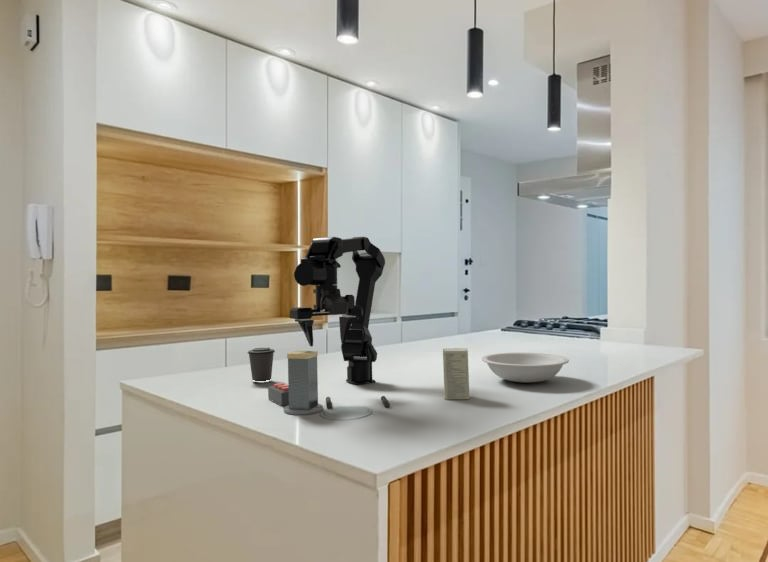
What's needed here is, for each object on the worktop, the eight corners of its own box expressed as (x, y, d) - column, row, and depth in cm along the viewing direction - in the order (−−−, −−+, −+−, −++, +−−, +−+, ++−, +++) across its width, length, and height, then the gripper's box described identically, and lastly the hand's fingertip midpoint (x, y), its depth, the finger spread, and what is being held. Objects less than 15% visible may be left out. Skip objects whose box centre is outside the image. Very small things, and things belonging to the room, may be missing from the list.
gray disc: (312, 403, 127) (312, 400, 127) (329, 410, 119) (329, 408, 119) (277, 408, 122) (277, 406, 122) (292, 417, 115) (292, 414, 115)
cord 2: (380, 400, 128) (380, 396, 128) (385, 400, 128) (385, 395, 128) (384, 407, 121) (384, 402, 121) (389, 407, 122) (389, 402, 122)
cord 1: (325, 401, 129) (325, 396, 129) (330, 401, 129) (330, 396, 129) (326, 408, 122) (326, 403, 122) (331, 408, 122) (331, 403, 122)
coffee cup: (281, 380, 157) (280, 347, 157) (261, 385, 150) (261, 350, 150) (262, 378, 161) (261, 345, 161) (241, 382, 154) (241, 349, 154)
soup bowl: (465, 379, 154) (464, 357, 154) (525, 371, 166) (524, 350, 166) (524, 394, 133) (523, 368, 133) (587, 383, 145) (587, 359, 145)
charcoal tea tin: (298, 404, 124) (297, 350, 124) (318, 405, 123) (317, 351, 122) (288, 409, 119) (287, 353, 119) (309, 410, 118) (308, 354, 117)
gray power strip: (268, 399, 132) (268, 383, 132) (284, 396, 135) (284, 381, 135) (281, 406, 125) (281, 389, 125) (298, 403, 127) (298, 387, 127)
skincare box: (468, 395, 132) (467, 347, 132) (469, 399, 128) (468, 350, 128) (443, 395, 133) (442, 348, 133) (443, 399, 128) (442, 350, 128)
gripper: (306, 286, 125) (307, 351, 125) (372, 284, 135) (374, 344, 135) (288, 286, 134) (289, 346, 134) (351, 284, 144) (352, 341, 144)
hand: (327, 344), depth 136 cm, fingers open, 9 cm apart
